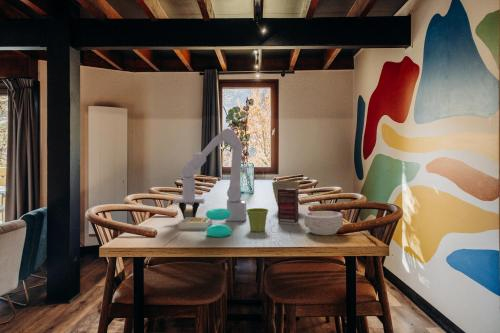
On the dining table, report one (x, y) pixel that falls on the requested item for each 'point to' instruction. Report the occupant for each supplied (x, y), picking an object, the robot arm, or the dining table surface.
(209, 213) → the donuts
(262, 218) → the plant pot
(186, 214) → the connector
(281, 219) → the supplement box
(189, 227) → the walled box
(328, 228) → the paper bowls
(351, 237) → the dining table surface
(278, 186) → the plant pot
